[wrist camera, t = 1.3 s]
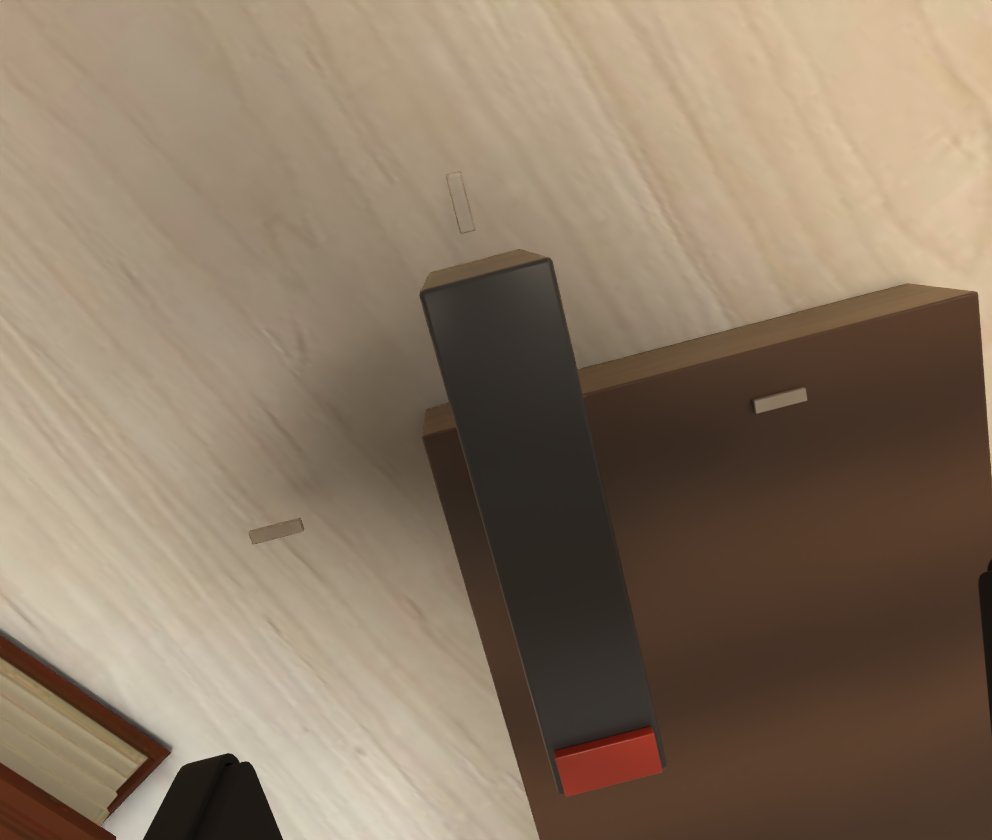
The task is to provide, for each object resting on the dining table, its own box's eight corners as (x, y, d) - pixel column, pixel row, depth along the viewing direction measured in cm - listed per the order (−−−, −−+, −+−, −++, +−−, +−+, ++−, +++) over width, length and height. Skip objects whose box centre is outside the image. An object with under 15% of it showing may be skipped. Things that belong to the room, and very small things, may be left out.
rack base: (190, 250, 20) (143, 254, 17) (887, 67, 20) (965, 38, 17) (423, 904, 27) (419, 992, 24) (957, 768, 26) (1023, 838, 23)
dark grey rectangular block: (427, 273, 18) (417, 292, 12) (522, 248, 18) (554, 256, 12) (532, 652, 21) (560, 807, 15) (613, 631, 21) (672, 778, 15)
